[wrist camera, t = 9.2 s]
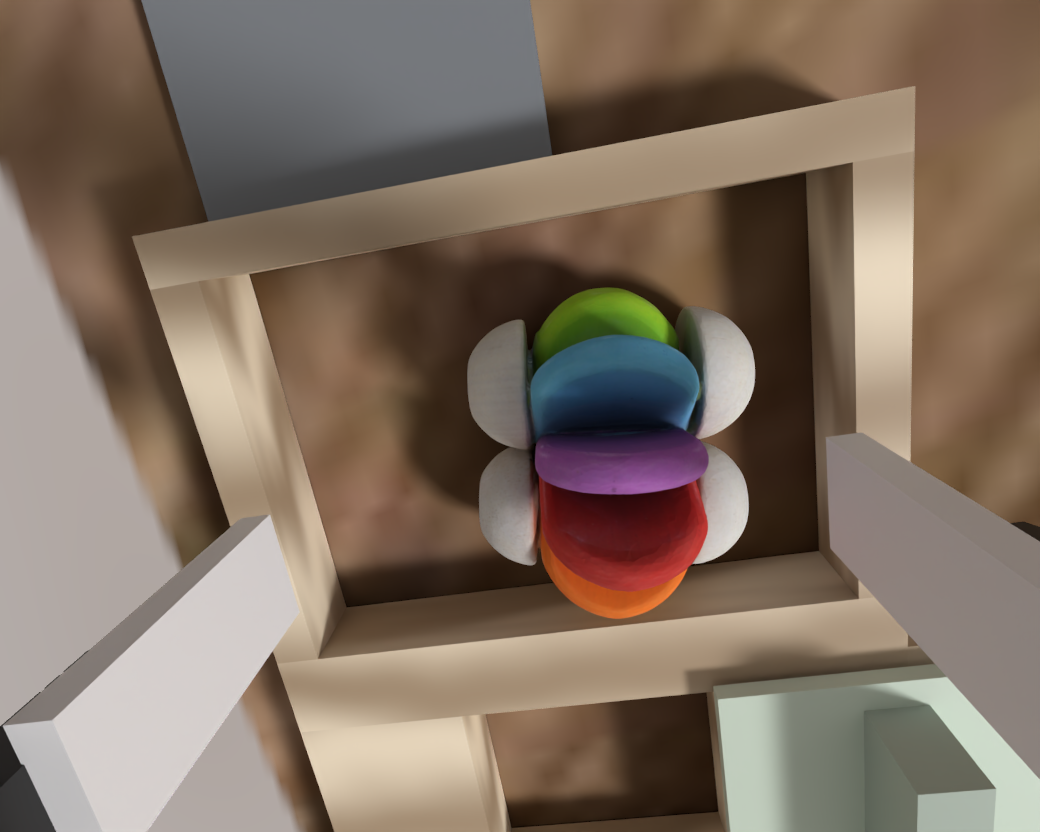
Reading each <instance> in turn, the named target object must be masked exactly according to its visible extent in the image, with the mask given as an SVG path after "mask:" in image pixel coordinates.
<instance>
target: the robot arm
mask: <svg viewBox="0 0 1040 832" xmlns="http://www.w3.org/2000/svg"><path fill="white" fill-rule="evenodd" d="M826 453H827V479H828V506H829V532H830V548H831V549H832V551H833V552H834V553H835V554H836V555H837V556H838V557H839V558H840V559H841V561H842V562H843V563H844V564H845V565H846V566H847V567H848V568H849V569H850V570H851V572H852V573H853V574H854V575H855V576H856V577H857V578H858V579H859V580H860V582H861V583H862V584H863V585H864V586H865V587H866V588H867V589H868V590H869V591H870V593H871V594H872V595H873V596H874V597H875V598H876V599H877V600H878V601H879V603H880V604H881V605H882V606H883V607H884V608H885V609H886V610H887V611H888V612H889V614H890V615H891V616H892V617H893V618H894V619H895V620H896V621H897V622H898V624H899V625H900V626H901V627H902V628H903V629H904V630H905V631H906V632H907V633H908V635H909V636H910V637H911V638H912V639H913V640H914V641H915V642H916V643H917V645H918V646H919V647H920V648H921V649H922V650H923V651H924V652H925V653H926V654H927V656H928V657H929V658H930V659H931V660H932V661H933V662H934V663H935V664H936V665H937V667H938V668H939V669H940V670H941V671H942V672H943V673H944V674H945V675H946V677H947V678H948V679H949V680H950V681H951V682H952V683H953V684H954V685H955V686H956V688H957V689H958V690H959V691H960V692H961V693H962V694H963V695H964V696H965V698H966V699H967V700H968V701H969V702H970V703H971V704H972V705H973V706H974V707H975V709H976V710H977V711H978V712H979V713H980V714H981V715H982V716H983V717H984V719H985V720H986V721H987V722H988V723H989V724H990V725H991V726H992V727H993V728H994V730H995V731H996V732H997V733H998V734H999V735H1000V736H1001V737H1002V738H1003V740H1004V741H1005V742H1006V743H1007V744H1008V745H1009V746H1010V747H1011V748H1012V749H1013V751H1014V752H1015V753H1016V754H1017V755H1018V756H1019V757H1020V758H1021V759H1022V760H1023V762H1024V763H1025V764H1026V765H1027V766H1028V767H1029V768H1030V769H1031V770H1032V772H1033V773H1034V774H1035V775H1036V776H1037V777H1038V778H1039V779H1040V527H1038V526H1035V525H1032V524H1029V523H1026V522H1017V523H1009V522H1007V521H1005V520H1004V519H1002V518H1001V517H999V516H997V515H996V514H994V513H992V512H991V511H989V510H987V509H986V508H984V507H983V506H981V505H979V504H978V503H976V502H974V501H973V500H971V499H970V498H968V497H966V496H965V495H963V494H961V493H960V492H958V491H956V490H955V489H953V488H952V487H950V486H948V485H947V484H945V483H943V482H942V481H940V480H939V479H937V478H935V477H934V476H932V475H930V474H929V473H927V472H926V471H924V470H922V469H921V468H919V467H917V466H916V465H914V464H912V463H911V462H909V461H908V460H906V459H904V458H903V457H901V456H899V455H898V454H896V453H895V452H893V451H891V450H890V449H888V448H886V447H885V446H883V445H882V444H880V443H878V442H877V441H875V440H873V439H872V438H870V437H868V436H867V435H865V434H864V433H862V432H861V433H853V434H846V435H839V436H832V437H826ZM299 612H300V611H299V608H298V605H297V601H296V598H295V595H294V592H293V588H292V585H291V582H290V578H289V575H288V572H287V569H286V565H285V562H284V559H283V555H282V552H281V549H280V546H279V542H278V539H277V536H276V532H275V529H274V526H273V523H272V519H271V516H270V514H269V515H262V516H255V517H247V518H241V519H239V520H238V521H237V522H236V523H235V524H234V525H232V526H231V527H230V528H229V529H228V530H227V531H226V532H224V533H223V534H222V535H221V536H220V537H219V538H218V539H216V540H215V541H214V542H213V543H212V544H211V545H210V546H208V547H207V548H206V549H205V550H204V551H203V552H201V553H200V554H199V555H198V556H197V557H196V558H195V559H193V560H192V561H191V562H190V563H189V564H188V565H187V566H185V567H184V568H183V569H182V570H181V571H180V572H178V573H177V574H176V575H175V576H174V577H173V578H172V579H170V580H169V581H168V582H167V583H166V584H165V585H164V586H163V587H161V588H160V589H159V590H158V591H157V592H156V593H154V594H153V595H152V596H151V597H150V598H149V599H148V600H146V601H145V602H144V603H143V604H142V605H141V606H139V607H138V608H137V609H136V610H135V611H134V612H133V613H131V614H130V615H129V616H128V617H127V618H126V619H125V620H123V621H122V622H121V623H120V624H119V625H118V626H116V627H115V628H114V629H113V630H112V631H111V632H110V633H108V634H107V635H106V636H105V637H104V638H103V639H102V640H100V641H99V642H98V643H97V644H96V645H95V646H93V647H92V648H91V649H90V650H89V651H87V652H85V653H84V654H83V655H82V656H81V657H80V658H79V659H77V660H76V661H75V662H74V663H73V664H72V665H70V666H69V667H68V668H67V669H66V670H65V671H64V673H63V674H61V675H59V676H58V677H57V678H56V679H54V680H53V681H52V682H51V683H50V684H49V685H47V686H46V687H45V689H44V690H43V691H42V692H39V693H38V694H37V695H36V696H35V697H34V698H32V699H31V700H30V701H29V702H28V703H27V704H26V705H24V706H23V707H22V708H21V709H20V710H19V711H18V712H16V713H15V714H14V715H13V716H12V717H11V718H10V719H8V720H7V721H6V722H5V723H4V724H3V725H1V726H0V832H147V831H148V830H149V828H150V827H151V825H152V824H153V822H154V821H155V819H156V818H157V817H158V815H159V814H160V812H161V811H162V810H163V808H164V807H165V805H166V804H167V802H168V801H169V799H170V798H171V797H172V795H173V794H174V792H175V791H176V789H177V788H178V786H179V785H180V784H181V782H182V781H183V779H184V778H185V776H186V775H187V773H188V772H189V770H190V769H191V768H192V766H193V765H194V763H195V762H196V761H197V759H198V758H199V756H200V755H201V753H202V752H203V751H204V749H205V748H206V746H207V745H208V743H209V742H210V740H211V739H212V738H213V736H214V734H215V733H216V732H217V730H218V729H219V728H220V726H221V725H222V723H223V722H224V720H225V719H226V717H227V716H228V714H229V713H230V712H231V710H232V709H233V707H234V706H235V704H236V703H237V702H238V700H239V699H240V697H241V696H242V694H243V693H244V692H245V690H246V689H247V687H248V686H249V684H250V683H251V681H252V680H253V679H254V677H255V676H256V674H257V673H258V671H259V670H260V669H261V667H262V666H263V664H264V663H265V661H266V660H267V658H268V657H269V656H270V654H271V653H272V651H273V650H274V648H275V647H276V646H277V644H278V643H279V641H280V640H281V638H282V637H283V635H284V634H285V633H286V631H287V630H288V628H289V627H290V625H291V624H292V623H293V621H294V620H295V618H296V617H297V615H298V614H299Z"/></svg>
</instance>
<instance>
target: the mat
mask: <svg viewBox="0 0 1040 832" xmlns="http://www.w3.org/2000/svg"><path fill="white" fill-rule="evenodd" d="M141 1H142V4H143V7H144V11H145V14H146V17H147V21H148V24H149V27H150V30H151V34H152V37H153V40H154V44H155V47H156V50H157V54H158V57H159V60H160V63H161V67H162V70H163V73H164V77H165V80H166V83H167V86H168V90H169V93H170V96H171V100H172V103H173V106H174V109H175V113H176V116H177V119H178V123H179V126H180V129H181V133H182V136H183V139H184V142H185V146H186V149H187V152H188V156H189V159H190V162H191V165H192V169H193V172H194V175H195V179H196V182H197V185H198V189H199V192H200V195H201V198H202V202H203V205H204V208H205V212H206V215H207V218H208V221H209V222H210V221H215V220H220V219H226V218H231V217H236V216H241V215H246V214H252V213H257V212H262V211H267V210H272V209H278V208H283V207H288V206H293V205H298V204H304V203H309V202H314V201H319V200H324V199H330V198H335V197H340V196H345V195H350V194H356V193H361V192H366V191H371V190H376V189H382V188H387V187H392V186H397V185H403V184H408V183H413V182H418V181H423V180H429V179H434V178H439V177H444V176H449V175H455V174H460V173H465V172H470V171H475V170H481V169H486V168H491V167H496V166H501V165H507V164H512V163H517V162H522V161H527V160H533V159H538V158H543V157H548V156H552V150H551V143H550V136H549V129H548V122H547V115H546V108H545V101H544V94H543V88H542V81H541V74H540V67H539V60H538V53H537V46H536V39H535V32H534V25H533V18H532V12H531V5H530V0H141Z"/></svg>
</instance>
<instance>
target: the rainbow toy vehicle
mask: <svg viewBox="0 0 1040 832" xmlns="http://www.w3.org/2000/svg"><path fill="white" fill-rule="evenodd" d="M467 383H468V399H469V405H470V410H471V413H472V416H473V418H474V420H475V421H476V423H477V424H478V425H479V426H480V428H481V429H482V430H483V431H484V432H485V433H487V434H488V435H489V436H490V437H491V438H493V439H494V440H496V441H497V442H500V443H502V444H504V445H507V446H510V447H509V448H507V449H505V450H504V451H502V452H501V453H499V454H498V455H497V456H496V457H495V458H494V459H493V460H492V461H491V462H490V463H489V464H488V465H487V467H486V468H485V470H484V471H483V473H482V476H481V480H480V489H479V517H480V525H481V530H482V533H483V535H484V536H485V538H486V539H487V541H488V542H489V543H490V544H491V546H492V547H493V548H494V549H495V550H497V551H498V552H499V553H500V554H502V555H503V556H504V557H506V558H508V559H510V560H512V561H515V562H518V563H521V564H525V565H534V564H535V563H536V561H537V554H538V550H539V548H540V549H541V555H542V561H543V564H544V566H545V569H546V571H547V573H548V574H549V576H550V578H551V579H552V581H553V582H554V584H555V585H556V586H557V588H558V589H559V590H560V591H561V592H562V593H563V594H564V595H565V596H566V597H567V598H568V599H569V600H570V601H571V602H573V603H574V604H576V605H577V606H579V607H581V608H583V609H585V610H586V611H589V612H591V613H593V614H596V615H599V616H602V617H606V618H613V619H622V618H628V617H633V616H636V615H639V614H643V613H645V612H647V611H649V610H651V609H653V608H655V607H656V606H658V605H659V604H661V603H662V602H663V601H665V600H666V599H667V598H668V597H669V596H670V595H671V594H672V593H673V592H674V590H675V589H676V588H677V587H678V585H679V584H680V582H681V581H682V579H683V577H684V575H685V573H686V571H687V568H688V567H689V566H690V565H691V564H699V563H704V562H707V561H710V560H713V559H715V558H717V557H719V556H720V555H722V554H724V553H725V552H726V551H728V550H729V549H730V548H731V547H732V546H733V545H734V544H735V543H736V542H737V540H738V539H739V538H740V536H741V534H742V533H743V531H744V528H745V526H746V523H747V519H748V513H749V502H748V492H747V486H746V482H745V479H744V477H743V475H742V473H741V471H740V469H739V468H738V467H737V465H736V464H735V463H734V461H733V460H732V459H731V458H730V457H729V456H728V455H727V454H725V453H724V452H723V451H721V450H720V449H718V448H716V447H715V446H713V445H710V444H708V443H706V442H703V441H700V440H699V439H701V438H705V437H709V436H711V435H713V434H716V433H718V432H720V431H721V430H723V429H724V428H726V427H728V426H729V425H730V424H731V423H733V422H734V421H735V420H736V419H737V418H738V417H739V416H740V415H741V413H742V412H743V411H744V409H745V408H746V406H747V404H748V402H749V401H750V398H751V395H752V392H753V389H754V383H755V363H754V357H753V352H752V349H751V346H750V344H749V342H748V340H747V338H746V337H745V335H744V334H743V332H742V331H741V330H740V329H739V328H738V327H737V326H736V325H735V324H734V323H733V322H732V321H731V320H730V319H728V318H727V317H725V316H723V315H722V314H720V313H717V312H715V311H713V310H709V309H706V308H702V307H696V306H688V307H684V308H683V309H682V311H681V312H680V314H679V316H678V319H677V321H676V327H675V329H674V328H673V327H672V325H671V324H670V323H669V322H668V321H667V319H666V318H665V317H664V316H663V314H662V313H661V312H660V311H659V310H658V309H657V308H656V307H655V306H654V305H652V304H651V303H650V302H648V301H647V300H645V299H644V298H642V297H640V296H638V295H636V294H634V293H632V292H629V291H627V290H624V289H620V288H595V289H589V290H586V291H583V292H580V293H577V294H575V295H573V296H571V297H570V298H568V299H567V300H565V301H564V302H562V303H561V304H560V305H559V306H558V307H557V308H556V309H555V310H554V311H553V312H552V313H551V314H550V315H549V316H548V318H547V319H546V321H545V322H544V323H543V325H542V327H541V329H540V330H539V331H538V332H536V334H535V337H534V341H533V346H532V349H531V350H528V344H527V334H526V327H525V323H524V321H523V320H513V321H510V322H507V323H504V324H502V325H500V326H498V327H496V328H494V329H493V330H492V331H490V332H489V333H488V334H487V335H485V336H484V337H483V338H482V340H481V341H480V342H479V343H478V344H477V346H476V347H475V349H474V350H473V352H472V353H471V356H470V358H469V362H468V371H467ZM534 443H536V452H535V448H534V445H533V444H534Z"/></svg>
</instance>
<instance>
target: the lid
mask: <svg viewBox="0 0 1040 832" xmlns="http://www.w3.org/2000/svg"><path fill="white" fill-rule="evenodd" d="M713 690H714V700H715V711H716V721H717V731H718V742H719V752H720V762H721V772H722V783H723V793H724V803H725V814H726V824H727V832H1040V779H1039V778H1038V777H1037V776H1036V775H1035V774H1034V773H1033V772H1032V770H1031V769H1030V768H1029V767H1028V766H1027V765H1026V764H1025V763H1024V762H1023V760H1022V759H1021V758H1020V757H1019V756H1018V755H1017V754H1016V753H1015V752H1014V751H1013V749H1012V748H1011V747H1010V746H1009V745H1008V744H1007V743H1006V742H1005V741H1004V740H1003V738H1002V737H1001V736H1000V735H999V734H998V733H997V732H996V731H995V730H994V728H993V727H992V726H991V725H990V724H989V723H988V722H987V721H986V720H985V719H984V717H983V716H982V715H981V714H980V713H979V712H978V711H977V710H976V709H975V707H974V706H973V705H972V704H971V703H970V702H969V701H968V700H967V699H966V698H965V696H964V695H963V694H962V693H961V692H960V691H959V690H958V689H957V688H956V686H955V685H954V684H953V683H952V682H951V681H950V680H949V679H948V678H947V677H946V675H945V674H944V673H943V672H942V671H941V670H940V669H939V668H938V667H937V665H936V664H929V665H919V666H909V667H899V668H889V669H879V670H869V671H859V672H849V673H839V674H829V675H819V676H809V677H799V678H788V679H778V680H768V681H758V682H748V683H738V684H728V685H718V686H713Z"/></svg>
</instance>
